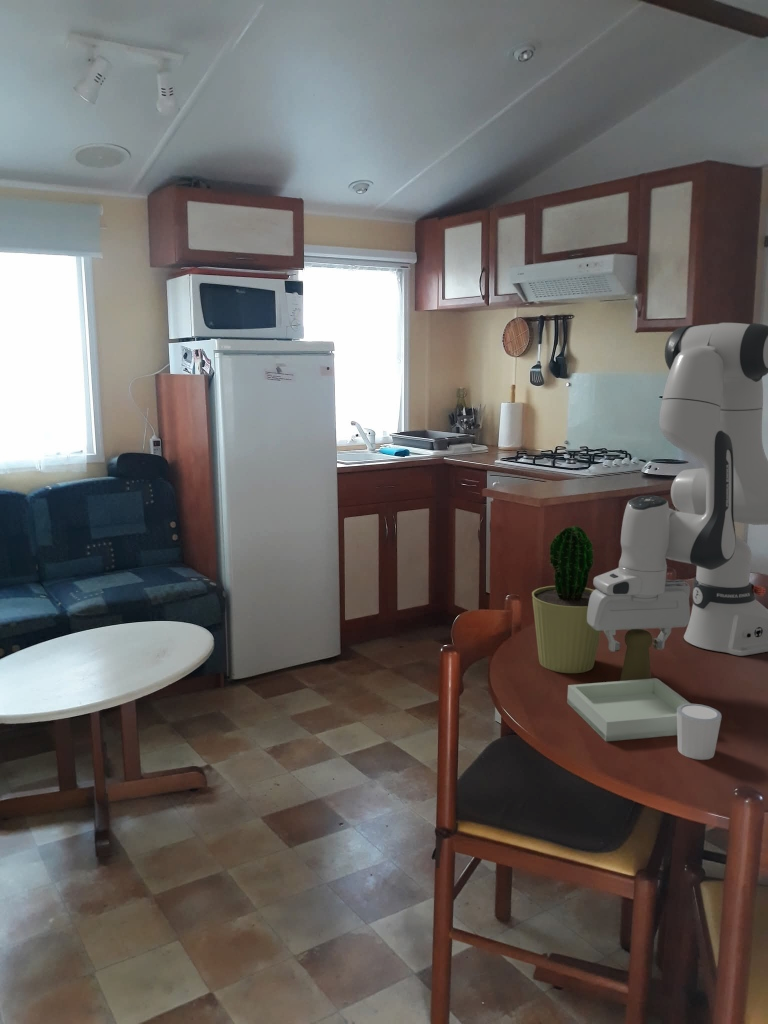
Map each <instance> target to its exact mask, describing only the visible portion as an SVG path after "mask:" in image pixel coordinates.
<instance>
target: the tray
mask: <svg viewBox="0 0 768 1024" xmlns="http://www.w3.org/2000/svg"><path fill="white" fill-rule="evenodd" d="M566 698H567V702H566V703H567V704H568V706H570V707H571V708H572V709H573V710H574V712H576V713H577V714H578V715H579V716H580V718H582V720H584V721H585V722H586V724H588V725H589V727H590V728H592V729H593V730H594V731H595V732H596V734H597V735H598V736H600V738H602V739H603V740H604V742H606V743H607V742H615V741H625V740H627V741H628V740H637V739H649V738H659V737H670V736H677V708H678V707H679V706H680V705H684V704H692V703H691V702H690V701H688V700H687V699H685V698H684V697H683V696H682V695H680V694H679V693H678V692H676V691H675V690H673V689H672V688H671V687H669V686H668V685H666V684H665V683H664V682H662V681H661V680H660V679H658V678H656V677H655V678H651V679H641V680H628V681H620V680H618V681H617V680H616V681H606V682H605V681H603V682H592V683H589V682H588V683H579V684H568V685H567V697H566Z"/></svg>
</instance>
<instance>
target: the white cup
mask: <svg viewBox="0 0 768 1024" xmlns="http://www.w3.org/2000/svg"><path fill="white" fill-rule="evenodd" d="M721 721H722V713H721V712H720V711H719V710H718V709H716V708H713V707H711V706H709V705H704V704H700V703H699V704H698V703H691V704H684V705H680V706H679V707H678V708H677V735H676V736H677V751H678V752H679V753H680V754H681V755H682V756H685V757H686V758H688V759H689V758H690V759H693V760H700V761H705V760H710V759H713V758H714V756H715V753H716V749H717V748H716V747H717V743H718V737H719V731H720V728H721Z"/></svg>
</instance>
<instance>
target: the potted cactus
mask: <svg viewBox="0 0 768 1024" xmlns="http://www.w3.org/2000/svg"><path fill="white" fill-rule="evenodd" d="M583 528H584V526H582V527H579V526H577V525H574V524H571V525H569V526H568V527H565V528H564V527H563V528H561V530H560V533H559V534H555V536H553V539H552V541H551V542H550V541H549V540H547V542H546V543H550V544H549V545H550V547H549V548H547V549H548V550H549V554H548V555H546V557H550V559H549V560H546V562H549V561H550V563H549V564H548V566H549V567H553V568H550V571H551V570H553V571H552V572H551V573H554V578H553V579H552V581H554V585H548V586H543V587H539V588H536V589H534V590H533V591H532V592H531V597H532V608H533V615H534V625H535V626H534V627H535V634H536V644H537V653H538V661H539V664H540V665H541V666H542V667H543V668H545V669H547V670H550V671H552V672H557V673H562V674H563V673H564V674H581V673H586V672H589V671H591V670H593V668H594V666H595V663H596V662H595V661H596V657H597V656H596V655H597V652H598V648H599V644H600V638H601V633H602V631H597V630H595V629H593V628H592V627H591V626H590V625H589V624H588V622H587V610H588V604H589V599H590V595H591V593H592V592H593V591H594V590H595V589H591V588H588V584H590V581H593V579H592V580H591V579H589V577H590V576H589V574H590V573H592V568H593V570H595V569H596V568H595V567H593V566H594V564H595V562H596V561H594V555H593V554H594V552H595V551H597V550H596V549H593V543H594V539H592V540H591V538H590V537H591V536H590V535H589V536H588V535H587V533H586V532H585V531H586V529H587V528H584V529H583ZM593 575H596V574H594V573H593ZM552 581H551V582H552ZM588 581H589V582H588Z"/></svg>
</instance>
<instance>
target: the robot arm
mask: <svg viewBox="0 0 768 1024" xmlns="http://www.w3.org/2000/svg"><path fill="white" fill-rule="evenodd" d="M664 360H665V363H666V366H667V368H668V370H669V373H668V376H667V379H666V381H665V385H664V389H663V394H662V399H661V404H660V409H659V417H658V419H659V420H658V421H659V423H658V424H659V428H660V432H661V433H662V435H663V436H664V438H665V439H666V440H667V441H668V442H669V443H670V444H671V445H673V446H674V447H676V448H677V449H680V450H682V451H683V452H685V453H688V454H689V455H691V456H692V457H694V458H696V459H697V460H698V461H699V462H700V463H701V464H702V465H703V467H700V468H699V467H698V468H689V469H684V470H681V471H680V472H679V473H678V474H677V475H676V477H674V479H673V481H672V484H671V488H670V498H671V502H672V504H673V506H674V507H675V508H676V510H674V509H673V508H670V507H669V501H668V500H667V499H666V498H665V497H661V496H657V495H640V496H637V497H633V498H631V499H630V500H628V501H627V504H626V506H625V510H624V513H623V519H622V523H621V525H622V526H621V533H620V546H621V554H620V555H621V556H620V559H619V561H618V567H617V568H614V569H612V570H610V571H607V572H604V573H602V574H599V575H596V576H594V578H593V579H592V581H593V583H592V584H593V587H594V588H595V589H593V590H594V591H593V592H592V593H591V595H590V599H589V604H588V610H587V622H588V624H589V625H590V626H591V627H592V628H593V629H595V630H597V631H601V632H602V631H603V633H604V635H605V637H606V639H607V641H608V650H609V651H610V652H611V653H612V652H620V646H621V643H620V642H619V641H617V640H615V638H614V636H616V633H617V632H616V631H620V630H621V631H623V630H627V631H628V630H631V629H642V630H647V629H659V630H660V632H659V634H658V635H657V638H656V637H655V638H653V637H652V647H653V649H655V650H664V649H665V642H666V641H667V639H668V638H669V636H670V635H671V634H672V629H673V628H685V627H686V630H685V633H684V634H683V638H684V640H685V641H686V643H688V644H690V645H693V646H695V647H698V648H700V649H705V650H709V651H714V652H721V653H727V654H730V655H734V656H740V657H744V656H749V655H755V654H761V653H765V652H768V608H766V607H765V606H764V605H763V604H762V603H761V602H759V601H758V600H757V599H756V596H755V594H757V595H758V596H759V597H760V596H761V597H763V596H764V595H765V594H766V591H767V590H766V588H765V587H763V586H761V585H759V584H756V585H754V584H753V583H752V582H750V577H751V566H752V556H753V553H752V551H751V549H750V546H749V545H748V543H747V542H746V541H745V540H743V539H742V538H740V537H739V536H737V534H736V526H735V523H741V524H747V525H754V526H759V525H760V526H764V525H765V526H766V525H768V457H767V456H766V453H765V449H764V447H763V446H764V444H763V411H764V410H763V409H764V386H763V377H765V376H767V375H768V325H766V324H763V323H756V322H753V323H751V324H750V323H739V322H719V323H711V324H710V323H709V324H700V325H696V326H695V325H685V326H682V327H681V326H680V327H678V328H676V329H675V330H674V331H673V332H672V333H671V334H670V335H669V337H668V338H667V340H666V343H665V347H664ZM666 559H668V560H670V561H675V562H680V563H685V564H691V565H693V566H696V573H695V575H696V576H695V577H694V578H693V585H692V607H691V611H690V599H689V598H690V595H691V586H690V584H689V583H688V582H687V581H685V579H674V580H673V579H667V573H668V572H667V570H668V565H667V560H666Z"/></svg>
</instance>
